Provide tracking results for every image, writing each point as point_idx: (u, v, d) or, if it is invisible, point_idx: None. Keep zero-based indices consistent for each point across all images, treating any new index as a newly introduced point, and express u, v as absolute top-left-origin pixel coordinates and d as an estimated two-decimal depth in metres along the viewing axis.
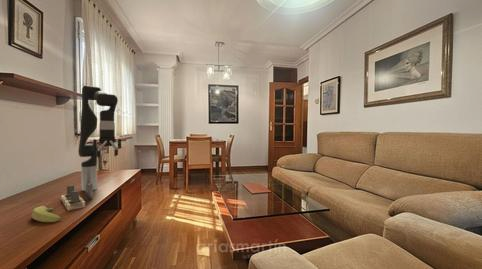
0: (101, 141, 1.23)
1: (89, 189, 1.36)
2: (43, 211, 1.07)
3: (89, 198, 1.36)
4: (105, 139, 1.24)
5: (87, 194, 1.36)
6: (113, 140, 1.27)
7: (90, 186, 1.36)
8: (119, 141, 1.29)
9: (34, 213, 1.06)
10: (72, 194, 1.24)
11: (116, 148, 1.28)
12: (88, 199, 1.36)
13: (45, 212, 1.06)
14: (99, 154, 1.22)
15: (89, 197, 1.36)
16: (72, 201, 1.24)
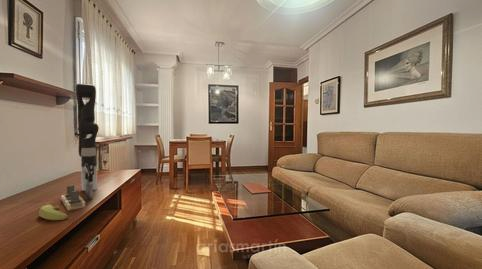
0: None
1: (89, 189, 1.36)
2: (51, 209, 1.09)
3: (89, 198, 1.36)
4: None
5: (87, 194, 1.36)
6: None
7: (90, 186, 1.36)
8: None
9: (42, 211, 1.09)
10: (72, 194, 1.24)
11: None
12: (88, 199, 1.36)
13: (53, 210, 1.09)
14: (92, 178, 1.35)
15: (89, 197, 1.36)
16: (72, 201, 1.24)
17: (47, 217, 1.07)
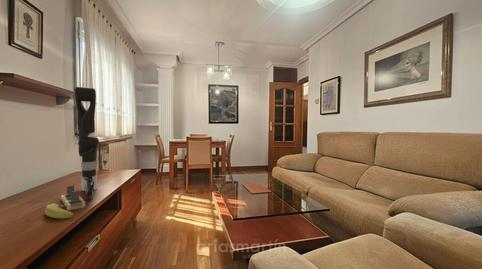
0: None
1: None
2: (56, 208, 1.11)
3: (89, 198, 1.36)
4: None
5: (87, 194, 1.36)
6: None
7: None
8: None
9: (48, 210, 1.10)
10: (72, 194, 1.24)
11: None
12: (88, 199, 1.36)
13: (59, 209, 1.11)
14: None
15: (89, 197, 1.36)
16: (72, 201, 1.24)
17: (53, 215, 1.09)
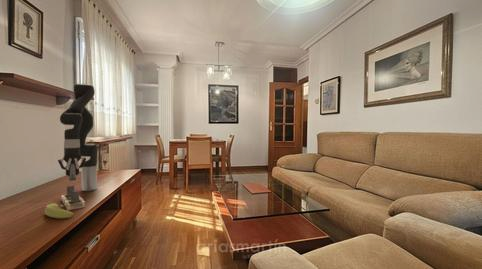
0: None
1: None
2: (57, 208, 1.11)
3: None
4: None
5: (75, 173, 1.30)
6: None
7: None
8: None
9: (48, 210, 1.11)
10: (72, 194, 1.24)
11: None
12: None
13: (59, 209, 1.11)
14: (76, 171, 1.32)
15: None
16: (72, 201, 1.24)
17: (53, 215, 1.09)
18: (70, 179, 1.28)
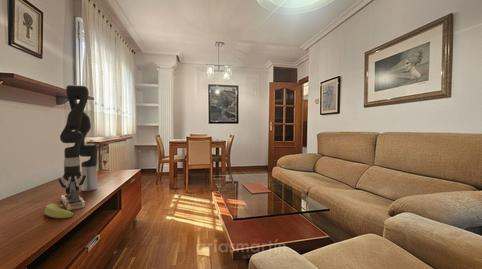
0: None
1: (75, 185, 1.31)
2: (57, 208, 1.11)
3: None
4: None
5: None
6: None
7: None
8: None
9: (48, 210, 1.11)
10: (72, 194, 1.24)
11: None
12: None
13: (59, 208, 1.11)
14: (76, 189, 1.33)
15: None
16: (72, 201, 1.24)
17: (53, 215, 1.09)
18: (70, 197, 1.29)
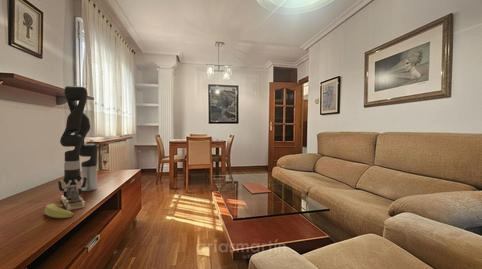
0: None
1: None
2: (57, 207, 1.11)
3: None
4: None
5: None
6: None
7: None
8: None
9: (48, 210, 1.11)
10: (72, 194, 1.24)
11: None
12: None
13: (59, 208, 1.11)
14: None
15: None
16: (72, 201, 1.24)
17: (53, 215, 1.09)
18: None
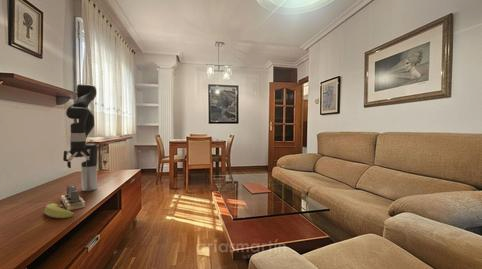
0: None
1: None
2: (57, 207, 1.11)
3: None
4: None
5: None
6: None
7: None
8: None
9: (48, 210, 1.11)
10: (72, 194, 1.24)
11: None
12: None
13: (59, 208, 1.11)
14: None
15: None
16: (72, 201, 1.24)
17: (54, 215, 1.09)
18: None
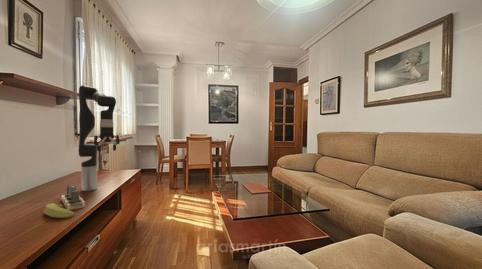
0: None
1: None
2: (57, 207, 1.12)
3: None
4: None
5: None
6: None
7: None
8: None
9: (48, 209, 1.11)
10: (72, 194, 1.24)
11: None
12: None
13: (59, 208, 1.11)
14: None
15: None
16: (72, 201, 1.24)
17: (54, 215, 1.09)
18: None
